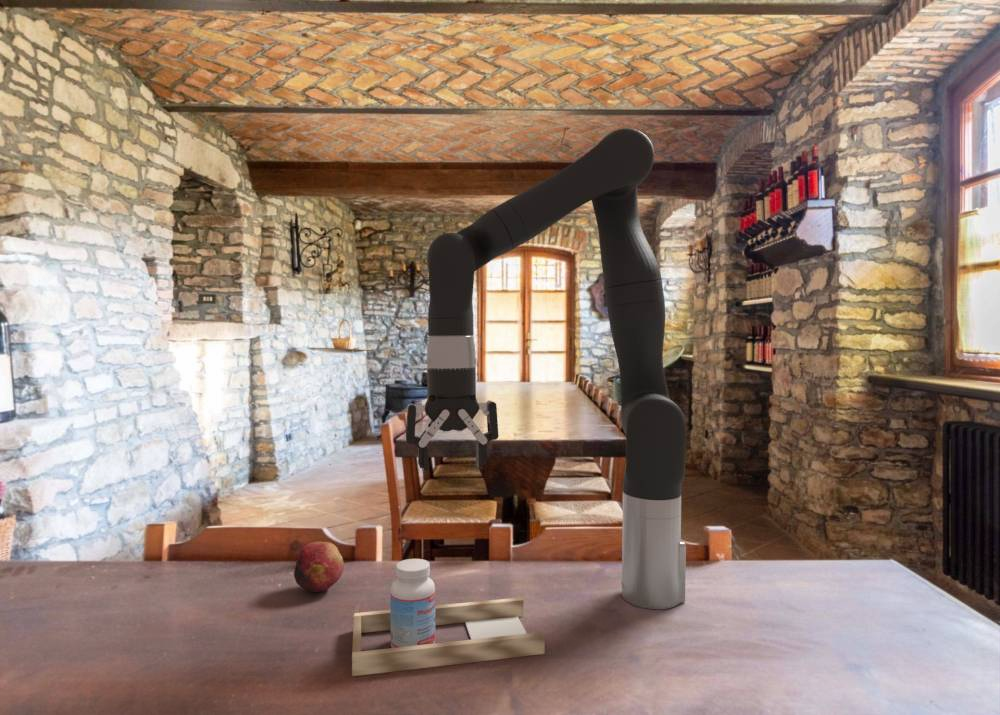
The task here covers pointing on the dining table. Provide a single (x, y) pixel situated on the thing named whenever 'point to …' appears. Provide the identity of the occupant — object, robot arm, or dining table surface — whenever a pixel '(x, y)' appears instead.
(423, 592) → the pill bottle
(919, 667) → the dining table surface
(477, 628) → the front pad
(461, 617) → the bay
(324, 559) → the fruit
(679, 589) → the robot arm
